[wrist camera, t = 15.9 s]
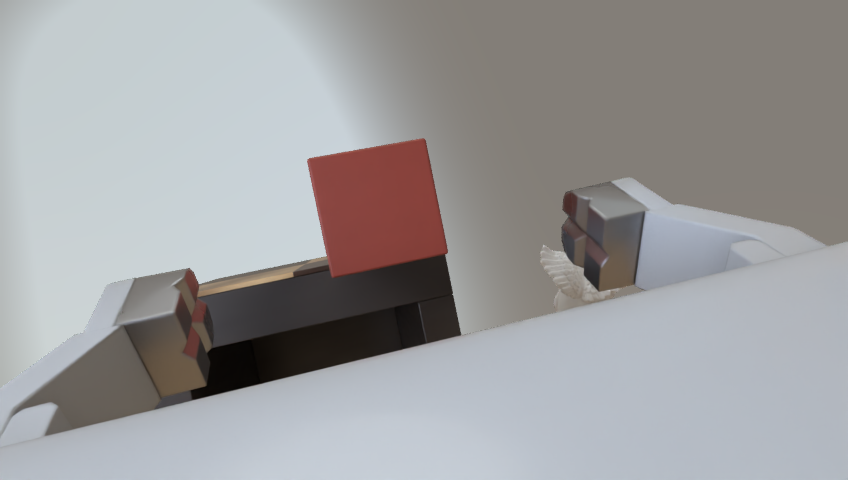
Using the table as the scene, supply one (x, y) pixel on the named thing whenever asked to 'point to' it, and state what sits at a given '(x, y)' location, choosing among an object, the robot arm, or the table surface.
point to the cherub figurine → (571, 282)
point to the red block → (377, 207)
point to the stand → (318, 319)
